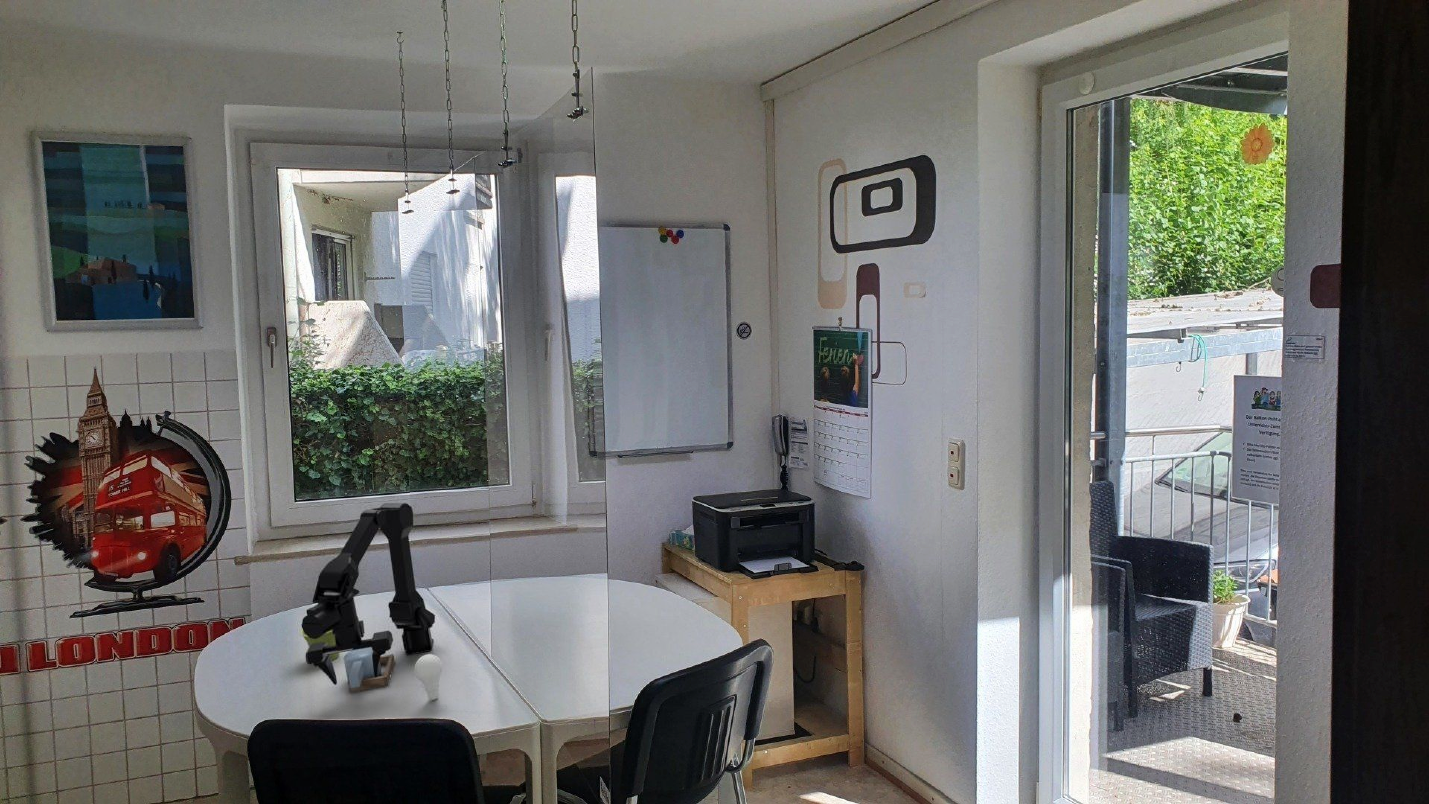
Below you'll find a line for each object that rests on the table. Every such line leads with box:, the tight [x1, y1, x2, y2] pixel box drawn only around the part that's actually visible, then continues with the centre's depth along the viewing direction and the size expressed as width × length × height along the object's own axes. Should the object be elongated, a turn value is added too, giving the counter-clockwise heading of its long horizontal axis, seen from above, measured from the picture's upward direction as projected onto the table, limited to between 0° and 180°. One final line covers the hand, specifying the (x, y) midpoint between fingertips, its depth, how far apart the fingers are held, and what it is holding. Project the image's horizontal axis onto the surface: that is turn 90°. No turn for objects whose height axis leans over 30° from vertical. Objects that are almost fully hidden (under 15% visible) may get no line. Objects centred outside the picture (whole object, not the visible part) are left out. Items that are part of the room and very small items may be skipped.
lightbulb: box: [414, 653, 443, 701], centre depth 222 cm, size 6×6×11 cm
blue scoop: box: [343, 647, 383, 688], centre depth 234 cm, size 16×8×6 cm, turn 11°
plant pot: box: [300, 629, 340, 661], centre depth 250 cm, size 9×9×9 cm
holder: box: [348, 653, 396, 693], centre depth 238 cm, size 9×13×2 cm
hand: (356, 680), depth 228 cm, fingers open, 9 cm apart
